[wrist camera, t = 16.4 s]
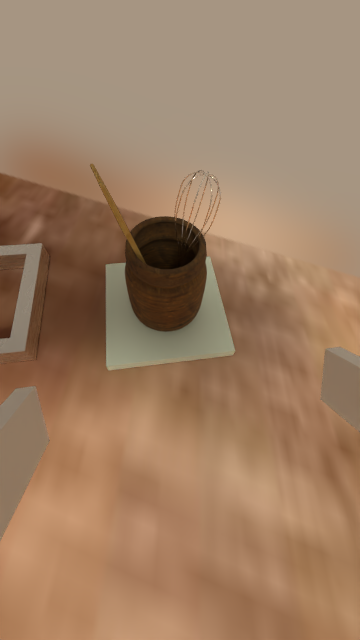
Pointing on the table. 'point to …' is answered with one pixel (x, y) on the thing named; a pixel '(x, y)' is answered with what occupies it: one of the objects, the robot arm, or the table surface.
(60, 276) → the table surface
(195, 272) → the utensil holder
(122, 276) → the green tile
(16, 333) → the grey square frame
